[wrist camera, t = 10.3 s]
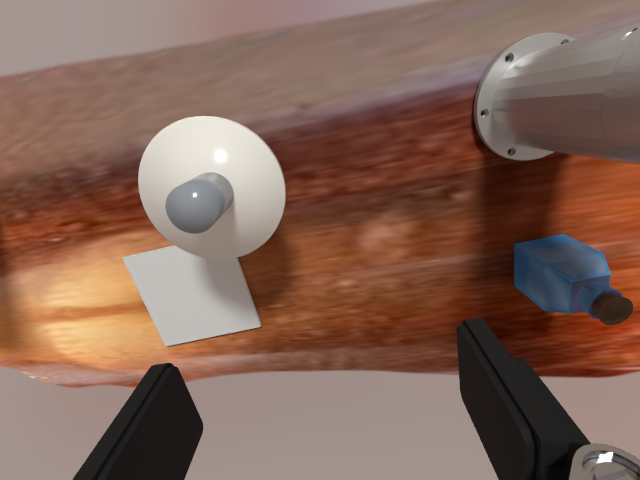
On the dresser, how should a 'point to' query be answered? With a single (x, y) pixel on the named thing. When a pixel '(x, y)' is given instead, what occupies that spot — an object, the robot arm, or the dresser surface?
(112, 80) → the dresser surface
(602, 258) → the perfume bottle
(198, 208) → the lid
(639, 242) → the dresser surface
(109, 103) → the dresser surface
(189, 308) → the mat
